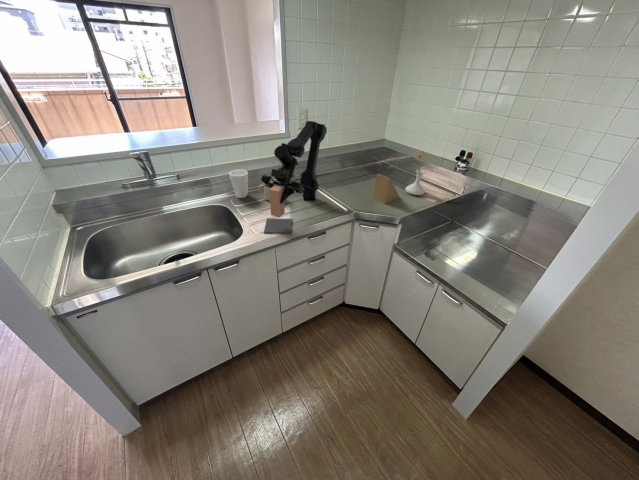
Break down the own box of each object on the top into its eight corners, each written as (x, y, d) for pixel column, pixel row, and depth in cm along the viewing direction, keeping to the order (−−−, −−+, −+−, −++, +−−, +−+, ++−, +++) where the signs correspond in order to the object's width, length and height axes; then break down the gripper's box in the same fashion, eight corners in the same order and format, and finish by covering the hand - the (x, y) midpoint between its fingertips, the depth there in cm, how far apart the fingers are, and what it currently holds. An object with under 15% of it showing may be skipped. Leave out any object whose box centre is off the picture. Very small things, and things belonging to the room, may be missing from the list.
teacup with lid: (281, 194, 150) (280, 174, 143) (280, 201, 142) (279, 181, 135) (260, 193, 149) (258, 174, 142) (257, 200, 142) (255, 180, 135)
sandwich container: (400, 197, 154) (406, 172, 146) (384, 204, 146) (389, 178, 137) (388, 192, 159) (393, 168, 151) (372, 198, 151) (377, 173, 142)
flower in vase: (427, 194, 159) (440, 153, 145) (415, 198, 153) (428, 156, 139) (410, 186, 168) (421, 147, 153) (398, 190, 162) (408, 149, 148)
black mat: (291, 219, 127) (291, 218, 127) (290, 233, 117) (290, 232, 117) (266, 219, 126) (266, 218, 126) (263, 233, 116) (263, 232, 116)
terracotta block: (276, 210, 120) (274, 185, 113) (284, 213, 119) (283, 187, 112) (270, 215, 117) (269, 189, 110) (279, 217, 116) (278, 191, 108)
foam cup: (234, 191, 150) (231, 169, 142) (251, 191, 150) (248, 169, 143) (231, 199, 142) (227, 176, 134) (248, 199, 143) (246, 176, 135)
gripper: (261, 156, 110) (248, 190, 108) (300, 164, 105) (287, 200, 103) (272, 168, 121) (260, 199, 119) (308, 176, 115) (297, 209, 113)
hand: (275, 202), depth 113 cm, fingers closed on terracotta block, 4 cm apart
